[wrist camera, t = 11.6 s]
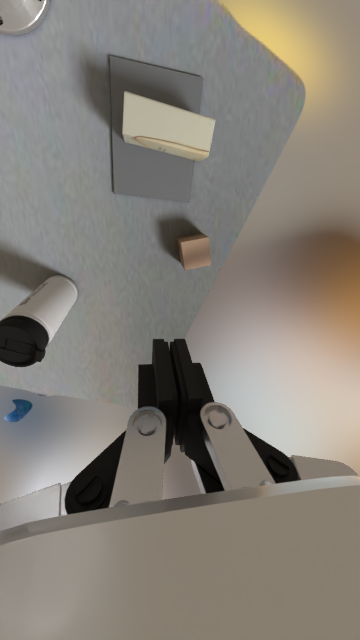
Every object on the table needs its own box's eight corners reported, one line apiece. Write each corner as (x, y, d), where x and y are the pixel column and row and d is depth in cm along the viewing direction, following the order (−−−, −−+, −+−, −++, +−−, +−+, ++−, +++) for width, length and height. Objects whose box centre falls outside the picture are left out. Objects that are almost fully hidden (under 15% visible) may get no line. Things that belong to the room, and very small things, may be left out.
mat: (110, 57, 30) (109, 55, 29) (202, 79, 32) (203, 77, 32) (114, 193, 37) (113, 193, 37) (188, 202, 40) (189, 202, 39)
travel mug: (76, 308, 46) (38, 375, 29) (41, 297, 44) (-22, 363, 27) (84, 282, 44) (47, 338, 27) (47, 269, 41) (-18, 321, 24)
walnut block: (176, 237, 42) (180, 242, 38) (201, 232, 43) (208, 237, 38) (180, 263, 45) (184, 270, 41) (204, 258, 45) (210, 264, 41)
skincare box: (199, 162, 37) (125, 144, 34) (205, 128, 34) (126, 106, 32) (209, 156, 31) (121, 135, 29) (217, 116, 29) (122, 89, 27)
